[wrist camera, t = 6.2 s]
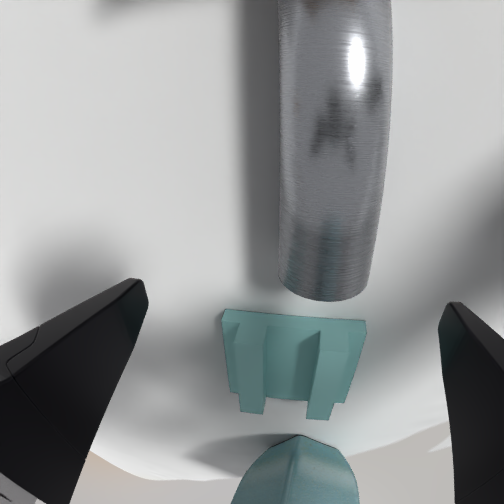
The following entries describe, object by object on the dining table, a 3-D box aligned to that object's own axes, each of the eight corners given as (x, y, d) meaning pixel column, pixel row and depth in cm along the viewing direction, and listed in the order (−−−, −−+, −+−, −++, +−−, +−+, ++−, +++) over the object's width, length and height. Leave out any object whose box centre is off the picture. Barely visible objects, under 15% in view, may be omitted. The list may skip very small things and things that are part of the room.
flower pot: (239, 445, 28) (219, 523, 20) (296, 418, 23) (280, 518, 16) (306, 469, 29) (296, 539, 22) (366, 446, 25) (364, 530, 17)
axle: (339, -36, 9) (407, -53, 6) (333, 243, 16) (385, 283, 13) (256, -55, 8) (315, -93, 5) (262, 262, 15) (309, 313, 12)
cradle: (365, 320, 17) (368, 353, 15) (344, 391, 21) (343, 420, 19) (225, 309, 18) (214, 339, 16) (233, 381, 22) (225, 409, 20)
